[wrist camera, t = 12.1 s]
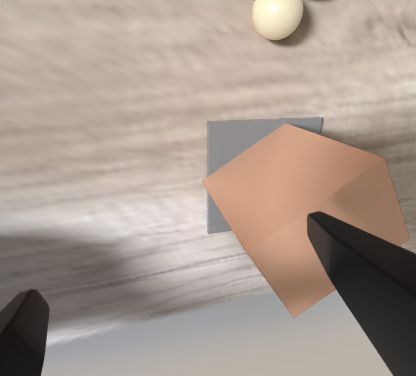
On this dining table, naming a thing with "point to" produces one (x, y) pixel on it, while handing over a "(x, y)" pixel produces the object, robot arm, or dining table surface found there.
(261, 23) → the marble
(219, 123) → the plate
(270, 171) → the peach rectangular box
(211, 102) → the dining table surface
